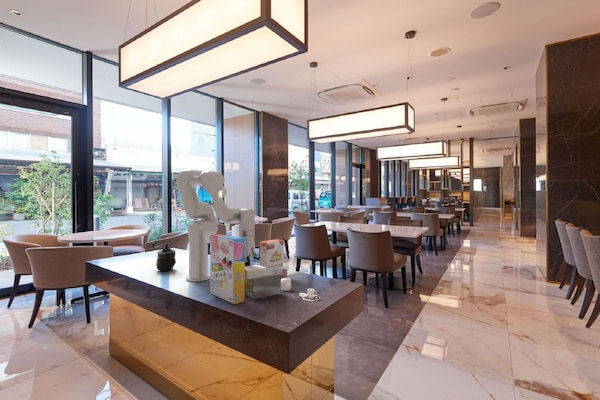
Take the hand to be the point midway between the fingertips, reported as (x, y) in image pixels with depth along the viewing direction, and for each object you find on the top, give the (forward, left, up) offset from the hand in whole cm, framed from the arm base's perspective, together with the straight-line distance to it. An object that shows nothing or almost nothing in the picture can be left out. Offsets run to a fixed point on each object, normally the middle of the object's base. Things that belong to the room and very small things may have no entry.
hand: (246, 269), depth 149 cm
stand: (+10, 0, -8) cm, 13 cm away
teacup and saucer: (+30, +16, -9) cm, 35 cm away
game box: (+11, -15, -8) cm, 21 cm away
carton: (+6, 0, -2) cm, 7 cm away
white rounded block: (+16, +13, -8) cm, 22 cm away
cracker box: (-5, +18, -8) cm, 20 cm away
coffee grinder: (-56, -26, -8) cm, 62 cm away
